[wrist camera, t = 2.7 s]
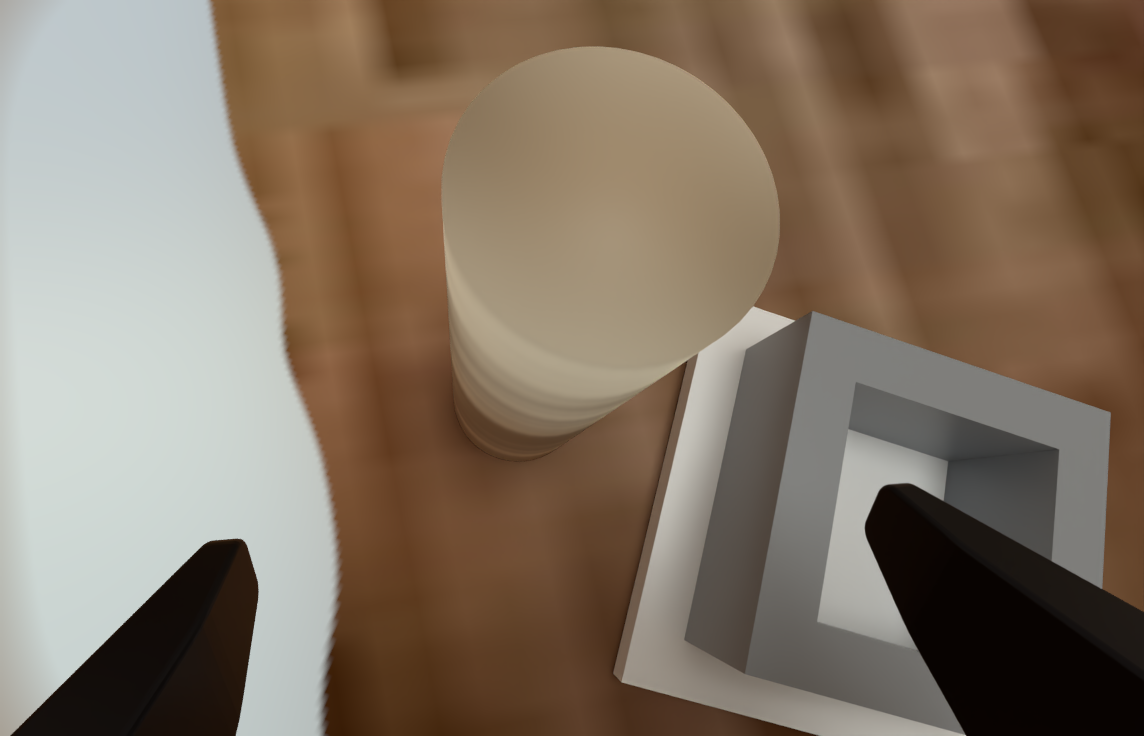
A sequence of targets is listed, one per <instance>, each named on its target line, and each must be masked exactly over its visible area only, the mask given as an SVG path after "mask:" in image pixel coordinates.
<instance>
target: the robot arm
mask: <svg viewBox="0 0 1144 736" xmlns="http://www.w3.org/2000/svg"><path fill="white" fill-rule="evenodd" d="M865 535H866V538H867V541H868V543H869V546H870V548H871V550H872V552H873V555H874V557H875V559H876V561H877V564H878V566H879V568H880V571H881V573H882V575H883V577H884V580H885V582H886V584H887V586H888V589H889V591H890V593H891V595H892V598H893V600H894V602H895V604H896V607H897V609H898V611H899V613H900V616H901V618H902V620H903V622H904V624H905V626H906V628H907V630H908V632H909V634H910V636H911V638H912V640H913V642H914V644H915V646H916V647H917V649H918V651H919V653H920V655H921V656H922V658H923V660H924V662H925V664H926V665H927V667H928V669H929V671H930V672H931V674H932V676H933V678H934V680H935V681H936V683H937V685H938V687H939V689H940V690H941V692H942V694H943V696H944V697H945V699H946V701H947V703H948V705H949V706H950V708H951V710H952V712H953V714H954V715H955V717H956V719H957V721H958V722H959V724H960V726H961V728H962V730H963V731H964V733H965V735H966V736H1144V612H1143V611H1141V610H1139V609H1137V608H1135V607H1134V606H1132V605H1130V604H1128V603H1126V602H1125V601H1123V600H1121V599H1119V598H1117V597H1116V596H1114V595H1112V594H1110V593H1108V592H1107V591H1105V590H1103V589H1101V588H1099V587H1098V586H1096V585H1094V584H1092V583H1090V582H1089V581H1087V580H1085V579H1083V578H1081V577H1079V576H1078V575H1076V574H1074V573H1072V572H1070V571H1069V570H1067V569H1065V568H1063V567H1061V566H1060V565H1058V564H1056V563H1054V562H1052V561H1051V560H1049V559H1047V558H1045V557H1043V556H1042V555H1040V554H1038V553H1036V552H1034V551H1033V550H1031V549H1029V548H1027V547H1025V546H1024V545H1022V544H1020V543H1018V542H1016V541H1015V540H1013V539H1011V538H1009V537H1007V536H1006V535H1004V534H1002V533H1000V532H998V531H997V530H995V529H993V528H991V527H989V526H988V525H986V524H984V523H982V522H980V521H979V520H977V519H975V518H973V517H971V516H970V515H968V514H966V513H964V512H962V511H961V510H959V509H957V508H955V507H953V506H952V505H950V504H948V503H946V502H944V501H943V500H941V499H939V498H937V497H935V496H934V495H932V494H930V493H928V492H926V491H925V490H923V489H921V488H919V487H917V486H915V485H913V484H910V483H899V484H887V485H884V486H883V487H882V488H881V489H880V490H879V492H878V494H877V496H876V498H875V501H874V503H873V505H872V507H871V510H870V512H869V514H868V517H867V519H866V522H865ZM257 603H258V581H257V578H256V574H255V571H254V568H253V564H252V561H251V557H250V554H249V551H248V548H247V545H246V543H245V542H244V541H243V540H242V539H227V540H215V541H210V542H207V543H206V544H204V545H203V546H202V547H201V548H200V549H199V550H198V551H197V552H196V553H195V554H194V555H193V556H192V557H190V559H188V561H187V562H185V563H184V564H183V565H182V566H181V567H180V568H179V569H178V570H177V571H176V572H175V573H174V575H172V576H171V577H170V578H169V579H168V580H167V581H166V582H165V583H164V584H163V585H162V586H161V587H160V588H159V589H158V590H157V591H156V592H155V593H154V594H153V595H152V596H151V597H150V598H149V599H148V600H147V601H146V602H145V603H144V604H143V605H142V606H141V607H140V608H139V609H138V610H137V611H136V612H135V613H134V614H133V615H132V616H131V617H130V618H129V619H128V620H127V621H126V622H125V623H124V624H123V625H122V626H121V627H120V628H119V629H118V630H117V631H116V632H115V633H114V634H113V635H112V636H111V637H110V638H109V639H108V640H107V641H106V642H105V643H104V644H103V645H102V646H101V647H100V648H99V649H98V650H96V651H95V653H94V654H93V655H91V656H90V658H88V659H87V660H86V661H85V662H84V663H83V664H82V665H81V666H80V667H79V668H78V669H77V670H76V671H75V673H73V674H72V675H71V676H70V677H69V678H68V679H67V680H66V681H65V682H64V683H63V684H62V685H61V686H60V687H59V688H58V689H57V690H56V691H55V692H54V693H53V694H52V695H51V696H50V697H49V698H48V699H47V700H46V701H45V702H44V703H43V704H42V705H41V706H40V707H39V708H38V709H37V710H36V711H35V712H34V713H33V714H32V715H31V716H30V717H29V718H28V719H27V720H26V721H25V722H24V723H23V724H22V725H21V726H20V727H19V728H18V729H17V730H16V731H15V732H14V733H13V734H12V735H11V736H236V731H237V727H238V723H239V718H240V713H241V707H242V701H243V695H244V688H245V682H246V675H247V668H248V662H249V655H250V649H251V642H252V636H253V629H254V622H255V616H256V609H257Z"/></svg>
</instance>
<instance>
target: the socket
mask: <svg viewBox="0 0 1144 736" xmlns="http://www.w3.org/2000/svg"><path fill="white" fill-rule="evenodd" d="M1110 416H1111V413H1110V412H1107V411H1104V410H1101V409H1098V408H1095V407H1093V406H1090V405H1087V404H1084V403H1081V402H1078V401H1075V400H1072V399H1069V398H1066V397H1063V396H1060V395H1057V394H1054V393H1051V392H1049V391H1046V390H1043V389H1040V388H1037V387H1034V386H1031V385H1028V384H1025V383H1022V382H1019V381H1016V380H1013V379H1010V378H1008V377H1005V376H1002V375H999V374H996V373H993V372H990V371H987V370H984V369H981V368H978V367H975V366H972V365H969V364H966V363H964V362H961V361H958V360H955V359H952V358H949V357H946V356H943V355H940V354H937V353H934V352H931V351H928V350H925V349H922V348H920V347H917V346H914V345H911V344H908V343H905V342H902V341H899V340H896V339H893V338H890V337H887V336H884V335H881V334H879V333H876V332H873V331H870V330H867V329H864V328H861V327H858V326H855V325H852V324H849V323H846V322H843V321H840V320H837V319H835V318H832V317H829V316H826V315H823V314H820V313H817V312H814V311H812V312H810V313H808V314H807V315H805V316H803V317H801V318H800V319H798V320H796V321H794V320H791V319H788V318H785V317H782V316H779V315H776V314H773V313H771V312H768V311H765V310H762V309H759V308H756V307H752V308H751V309H750V310H749V312H748V313H747V314H746V315H745V316H744V317H743V319H742V320H741V321H740V322H739V323H738V324H737V325H735V326H734V327H733V328H732V329H731V330H730V331H729V332H727V333H726V334H725V335H724V336H722V337H721V338H719V339H718V340H717V341H715V342H714V343H712V344H711V345H709V346H708V347H706V348H705V349H703V350H702V351H700V352H699V353H697V354H696V355H694V356H693V357H691V358H690V359H688V361H687V366H686V370H685V374H684V378H683V382H682V387H681V391H680V395H679V399H678V403H677V408H676V412H675V416H674V420H673V424H672V428H671V433H670V437H669V441H668V445H667V449H666V454H665V458H664V462H663V466H662V470H661V475H660V479H659V483H658V487H657V491H656V496H655V500H654V504H653V508H652V512H651V517H650V521H649V525H648V529H647V533H646V538H645V542H644V546H643V550H642V554H641V558H640V563H639V567H638V571H637V575H636V579H635V584H634V588H633V592H632V596H631V600H630V605H629V609H628V613H627V617H626V621H625V626H624V630H623V634H622V638H621V642H620V647H619V651H618V655H617V659H616V663H615V667H614V672H613V674H614V675H615V676H616V677H617V678H618V679H619V680H620V681H621V682H622V683H626V684H630V685H633V686H637V687H641V688H644V689H648V690H652V691H656V692H659V693H663V694H667V695H670V696H674V697H678V698H682V699H685V700H689V701H693V702H696V703H700V704H704V705H708V706H711V707H715V708H719V709H722V710H726V711H730V712H734V713H737V714H741V715H745V716H748V717H752V718H756V719H760V720H763V721H767V722H771V723H774V724H778V725H782V726H786V727H789V728H793V729H797V730H800V731H804V732H808V733H812V734H815V735H819V736H966V735H965V733H964V731H963V730H962V728H961V726H960V724H959V722H958V721H957V719H956V717H955V715H954V714H953V712H952V710H951V708H950V706H949V705H948V703H947V701H946V699H945V697H944V696H943V694H942V692H941V690H940V689H939V687H938V685H937V683H936V681H935V680H934V678H933V676H932V674H931V672H930V671H929V669H928V667H927V665H926V664H925V662H924V660H923V658H922V656H921V655H920V653H919V651H918V649H917V647H916V646H915V644H914V642H913V640H912V638H911V636H910V634H909V632H908V630H907V628H906V626H905V624H904V622H903V620H902V618H901V616H900V613H899V611H898V609H897V607H896V604H895V602H894V600H893V598H892V595H891V593H890V591H889V589H888V586H887V584H886V582H885V580H884V577H883V575H882V573H881V571H880V568H879V566H878V564H877V561H876V559H875V557H874V555H873V552H872V550H871V548H870V546H869V543H868V541H867V538H866V535H865V522H866V519H867V517H868V514H869V512H870V510H871V507H872V505H873V503H874V501H875V498H876V496H877V494H878V492H879V490H880V489H881V488H882V487H883V486H884V485H887V484H899V483H910V484H913V485H915V486H917V487H919V488H921V489H923V490H925V491H926V492H928V493H930V494H932V495H934V496H935V497H937V498H939V499H941V500H943V501H944V502H946V503H948V504H950V505H952V506H953V507H955V508H957V509H959V510H961V511H962V512H964V513H966V514H968V515H970V516H971V517H973V518H975V519H977V520H979V521H980V522H982V523H984V524H986V525H988V526H989V527H991V528H993V529H995V530H997V531H998V532H1000V533H1002V534H1004V535H1006V536H1007V537H1009V538H1011V539H1013V540H1015V541H1016V542H1018V543H1020V544H1022V545H1024V546H1025V547H1027V548H1029V549H1031V550H1033V551H1034V552H1036V553H1038V554H1040V555H1042V556H1043V557H1045V558H1047V559H1049V560H1051V561H1052V562H1054V563H1056V564H1058V565H1060V566H1061V567H1063V568H1065V569H1067V570H1069V571H1070V572H1072V573H1074V574H1076V575H1078V576H1079V577H1081V578H1083V579H1085V580H1087V581H1089V582H1090V583H1092V584H1094V585H1096V586H1098V587H1099V588H1101V589H1102V582H1103V561H1104V540H1105V519H1106V499H1107V478H1108V457H1109V436H1110Z"/></svg>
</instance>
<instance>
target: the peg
mask: <svg viewBox="0 0 1144 736" xmlns="http://www.w3.org/2000/svg"><path fill="white" fill-rule="evenodd" d="M442 214H443V231H444V248H445V264H446V281H447V298H448V315H449V331H450V348H451V365H452V381H453V398H454V408H455V413H456V416H457V419H458V422H459V424H460V426H461V428H462V430H463V431H464V433H465V434H466V436H467V437H468V438H469V439H470V441H471V442H473V443H474V444H475V445H476V446H477V447H478V448H480V449H481V450H482V451H484V452H486V453H487V454H489V455H491V456H494V457H496V458H499V459H503V460H508V461H528V460H534V459H537V458H540V457H543V456H545V455H547V454H549V453H551V452H552V451H554V450H555V449H557V448H558V447H560V446H561V445H563V444H564V443H566V442H567V441H569V440H570V439H572V438H573V437H575V436H576V435H578V434H579V433H581V432H582V431H584V430H585V429H586V428H588V427H589V426H591V425H592V424H594V423H595V422H597V421H598V420H600V419H601V418H603V417H604V416H606V415H607V414H609V413H610V412H612V411H613V410H615V409H616V408H618V407H619V406H620V405H622V404H623V403H625V402H626V401H628V400H629V399H631V398H632V397H634V396H635V395H637V394H638V393H640V392H641V391H643V390H644V389H646V388H647V387H649V386H650V385H651V384H653V383H654V382H656V381H657V380H659V379H660V378H662V377H663V376H665V375H666V374H668V373H669V372H671V371H672V370H674V369H675V368H677V367H678V366H680V365H681V364H683V363H684V362H685V361H687V360H688V359H690V358H691V357H693V356H694V355H696V354H697V353H699V352H700V351H702V350H703V349H705V348H706V347H708V346H709V345H711V344H712V343H714V342H715V341H717V340H718V339H719V338H721V337H722V336H724V335H725V334H726V333H727V332H729V331H730V330H731V329H732V328H733V327H734V326H735V325H737V324H738V323H739V322H740V321H741V320H742V319H743V317H744V316H745V315H746V314H747V313H748V312H749V310H750V309H751V308H752V307H753V306H754V304H755V302H756V301H757V299H758V298H759V296H760V294H761V293H762V291H763V290H764V288H765V285H766V283H767V281H768V279H769V276H770V274H771V272H772V269H773V265H774V261H775V258H776V254H777V249H778V242H779V235H780V211H779V203H778V196H777V191H776V187H775V183H774V179H773V175H772V172H771V170H770V167H769V165H768V162H767V160H766V157H765V155H764V153H763V151H762V149H761V147H760V145H759V144H758V142H757V140H756V138H755V136H754V135H753V134H752V132H751V131H750V129H749V128H748V126H747V125H746V124H745V122H744V121H743V119H742V118H741V117H740V116H739V115H738V114H737V113H736V111H735V110H734V109H733V108H732V107H731V106H730V105H729V104H728V103H727V102H726V101H725V100H724V99H723V98H722V97H721V96H720V95H718V94H717V93H716V92H715V91H714V90H713V89H711V88H710V87H709V86H707V85H706V84H705V83H703V82H702V81H700V80H699V79H698V78H696V77H695V76H693V75H691V74H689V73H688V72H686V71H684V70H682V69H681V68H679V67H677V66H675V65H672V64H670V63H668V62H665V61H663V60H661V59H659V58H655V57H652V56H649V55H646V54H643V53H639V52H635V51H630V50H625V49H620V48H610V47H597V46H596V47H575V48H568V49H562V50H556V51H552V52H549V53H545V54H542V55H539V56H535V57H533V58H531V59H529V60H526V61H524V62H522V63H519V64H517V65H516V66H514V67H512V68H511V69H509V70H507V71H506V72H504V73H502V74H501V75H499V76H498V77H497V78H496V79H495V80H493V81H492V82H491V83H490V84H488V85H487V86H486V87H485V88H484V89H483V90H482V91H481V92H480V93H479V94H478V95H477V97H476V98H475V99H474V100H473V101H472V102H471V103H470V105H469V106H468V108H467V109H466V111H465V112H464V114H463V115H462V117H461V118H460V120H459V122H458V124H457V126H456V128H455V130H454V132H453V134H452V137H451V139H450V142H449V145H448V149H447V152H446V155H445V159H444V166H443V173H442Z"/></svg>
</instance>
